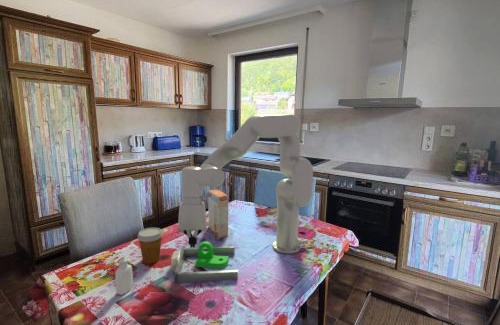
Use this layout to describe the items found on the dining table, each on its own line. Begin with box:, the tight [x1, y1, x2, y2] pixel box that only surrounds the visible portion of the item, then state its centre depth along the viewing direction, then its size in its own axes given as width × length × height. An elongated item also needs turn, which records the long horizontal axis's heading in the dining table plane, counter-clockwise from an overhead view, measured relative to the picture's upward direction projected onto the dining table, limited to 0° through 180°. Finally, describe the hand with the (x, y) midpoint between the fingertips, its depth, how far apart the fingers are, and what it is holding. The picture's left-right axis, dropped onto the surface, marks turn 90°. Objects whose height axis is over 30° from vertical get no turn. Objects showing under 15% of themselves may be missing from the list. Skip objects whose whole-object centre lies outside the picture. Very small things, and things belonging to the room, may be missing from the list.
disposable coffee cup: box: [137, 227, 164, 265], centre depth 106 cm, size 10×10×12 cm
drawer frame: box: [170, 245, 239, 284], centre depth 102 cm, size 24×20×5 cm
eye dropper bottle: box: [114, 255, 134, 296], centre depth 87 cm, size 4×6×12 cm
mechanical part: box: [195, 241, 229, 269], centre depth 104 cm, size 12×6×8 cm, turn 86°
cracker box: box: [208, 188, 229, 239], centre depth 133 cm, size 14×6×21 cm, turn 27°
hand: (192, 245), depth 101 cm, fingers closed
